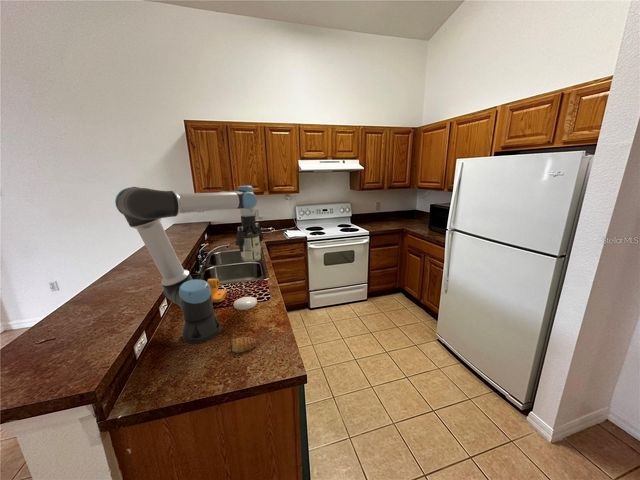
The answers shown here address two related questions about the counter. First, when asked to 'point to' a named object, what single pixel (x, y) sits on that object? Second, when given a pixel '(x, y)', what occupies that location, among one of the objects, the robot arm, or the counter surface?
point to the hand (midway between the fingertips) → (251, 254)
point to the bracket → (216, 290)
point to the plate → (245, 303)
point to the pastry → (243, 344)
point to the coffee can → (251, 247)
